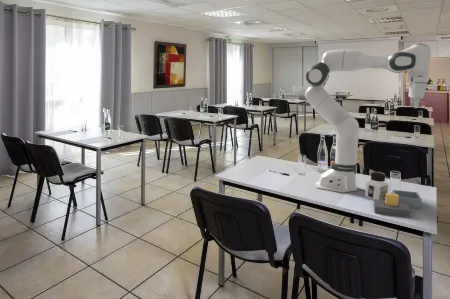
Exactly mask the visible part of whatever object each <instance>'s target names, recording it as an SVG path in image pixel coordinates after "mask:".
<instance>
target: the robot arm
mask: <svg viewBox="0 0 450 299" xmlns="http://www.w3.org/2000/svg"><path fill="white" fill-rule="evenodd" d="M431 56H432V48H431V47H430V46H429V45H427V44H423V43H415V44H412V45H411V46H409V47H408V48H406V49H405V48H404V49H402V50H399V51H396V52H395V53H393V54H391V55H385V56H384V55H368V54H365V53H364V52H361V51H359V50H356V49H355V50H354V49H349V48H347V49H344V48H343V49H332V50H327V51H325V52H324V53H323V55H322V58H321V62H318V63H316V64H314V65H312V66H310V67H309V68H308V69H307V71H306V74H305V79H306V82H307V83H308V84H309V86H308V88H306V90H305V92H304V97H305V100H306V101H307V102H308V104H309V105H310V106H311V107H312V108H313V109H314V111H315V112H316V113H317V114H318V115H319V116H321V118H323V120H324V121H326V122H327V123H328V124H330V125H331V126H332V127H333V128H334V129H335V130H336V137H335V154H334V155H335V156H334V161H333V160H331V161H330V163H329V164H330V168H329V169H327V170H325V171H324V172H322V173H321V174H320V177H319V180H316V182H315V183H314V187H315V188H317V189H320V190H326V191H330V192H338V193H347V192H348V193H349V192H354V191H357V190H358V185H357V177H356V176H357V170H358V164H357V155H358V147H359V145H358V144H359V135H360V124H359V122H358V120H357V119H356V118H355V117H354V116H352V115H351V113H350V112H348V111H347V110H346V109H345V108H344V107H343V106H342V105H341V104H339V102H338V101H337V100H336V99H334V97H333V96H332V95H330V94H329V93H328V92H327V90H326V89H325V85H326V84H327V82H328V80H329V77H330V74H331V73H332V72H353V71H354V72H355V71H359V70H365V69H381V70H382V69H383V70H388V71H389V72H391V73H395V74H400V73H403V72H405V71H407V72H408V73H407V80H406V81H407V83H409V87H408V88H409V89H408V96H407V97H408V98H410V107H413V109H418V108H419V104H420V103H421V99H422V100H423V99H424V97H425V94H426V89H427V84H428V83H429V75H430V70H429V67H430V64H431V59H432V57H431Z"/></svg>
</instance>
